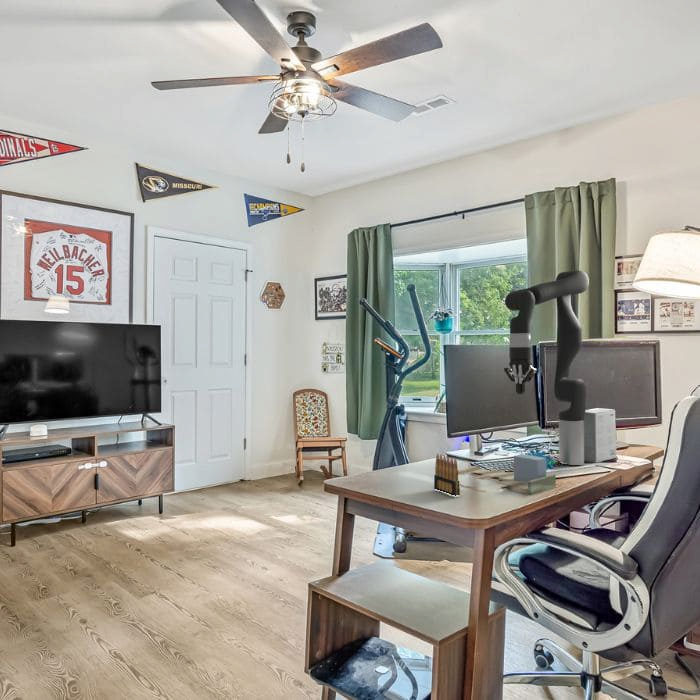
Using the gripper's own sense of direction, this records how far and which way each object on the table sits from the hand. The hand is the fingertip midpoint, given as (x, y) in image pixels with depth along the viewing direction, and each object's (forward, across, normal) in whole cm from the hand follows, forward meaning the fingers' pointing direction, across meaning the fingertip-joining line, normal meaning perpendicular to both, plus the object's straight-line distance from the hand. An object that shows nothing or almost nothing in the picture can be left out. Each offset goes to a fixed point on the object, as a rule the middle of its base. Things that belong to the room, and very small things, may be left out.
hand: (520, 393), depth 202 cm
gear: (+29, -3, -9) cm, 31 cm away
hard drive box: (+29, -6, -45) cm, 54 cm away
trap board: (+29, -2, +14) cm, 32 cm away
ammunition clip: (+29, 0, +41) cm, 50 cm away
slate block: (+28, -12, +12) cm, 32 cm away
